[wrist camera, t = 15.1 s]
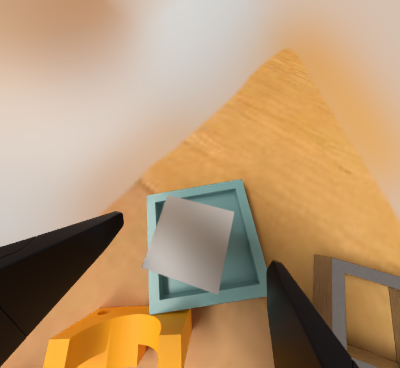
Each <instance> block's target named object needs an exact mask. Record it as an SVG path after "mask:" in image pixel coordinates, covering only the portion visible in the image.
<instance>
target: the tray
mask: <svg viewBox="0 0 400 368" xmlns="http://www.w3.org/2000/svg"><path fill="white" fill-rule="evenodd" d="M168 195H170V196H174V197H178V198H182V199H186V200H190V201H194V202H198V203H202V204H205V205H209V206H213V207H217V208H221V209H225V210H229V211H233V212H234V217H233V222H232V227H231V232H230V237H229V242H228V247H227V252H226V257H225V262H224V267H223V272H222V277H221V283H220V288H219V293H218V295H217V294H214V293H211V292H208V291H206V290H203V289H200V288H197V287H194V286H192V285H189V284H186V283H183V282H180V281H178V280H175V279H172V278H169V277H166V276H164V275H161V274H158V273H155V272H152V271H150V270H148V271H149V312H150V315H152V314H158V313H165V312H171V311H177V310H184V309H190V308H197V307H203V306H209V305H216V304H222V303H228V302H235V301H241V300H247V299H254V298H260V297H266V296H267V281H266V272H267V267H266V264H265V260H264V257H263V253H262V250H261V246H260V242H259V239H258V235H257V232H256V228H255V225H254V221H253V218H252V214H251V210H250V207H249V203H248V200H247V196H246V193H245V189H244V186H243V182H242V179H240V180H234V181H228V182H222V183H217V184H211V185H205V186H199V187H194V188H188V189H182V190H176V191H171V192H165V193H159V194H153V195H148V196H147V230H148V249H149V246H150V243H151V240H152V237H153V235H154V232H155V229H156V226H157V224H158V221H159V218H160V215H161V212H162V210H163V207H164V204H165V201H166V199H167V196H168Z"/></svg>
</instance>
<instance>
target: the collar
mask: <svg viewBox="0 0 400 368" xmlns="http://www.w3.org/2000/svg"><path fill="white" fill-rule="evenodd" d="M344 274H347V275H351V276H354V277H357V278H361V279H364V280H367V281H371V282H374V283H377V284H381V285H384V286H387V287H389V294H390V302H391V311H392V319H393V328H394V337H395V345H396V354H397V362H398V363H397V362H394V361H392V360H389V359H386V358H383V357H381V356H378V355H375V354H373V353H370V352H367V351H365V350H362V349H359V348H357V347H354V346H351V345H348V344H347V341H346V310H345V279H344ZM313 306H314V307H315V308H316V310H317V311H318V312H319V314H320V315H321V317H322V318H323V319H324V321H325V322H326V323H327V325H328V326H329V327H330V329H331V330H332V331H333V333H334V334H335V335H336V337H337V338H338V339H339V341H340V342H341V344H342V345H343V346H344V348H345V349H346V350H347V352H348V353H349V354H350V356H351V357H352V360H354V361H355V362H356V364H357V365H358V366H359V368H400V277H398V276H394V275H391V274H387V273H384V272H380V271H377V270H373V269H370V268H366V267H363V266H360V265H356V264H353V263H349V262H346V261H342V260H339V259H335V258H332V257H326V256H319V255H314V284H313Z"/></svg>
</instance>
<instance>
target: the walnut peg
mask: <svg viewBox="0 0 400 368" xmlns="http://www.w3.org/2000/svg"><path fill="white" fill-rule="evenodd" d="M233 217H234V212H233V211H229V210H225V209H221V208H217V207H213V206H209V205H205V204H202V203H198V202H194V201H190V200H186V199H182V198H178V197H174V196H170V195H168V196H167V199H166V201H165V204H164V207H163V210H162V212H161V215H160V218H159V221H158V224H157V226H156V229H155V232H154V235H153V237H152V240H151V243H150V246H149V249H148V251H147V254H146V257H145V260H144V262H143V265H142V268H144V269H147V270H150V271H152V272H155V273H158V274H161V275H164V276H166V277H169V278H172V279H175V280H178V281H180V282H183V283H186V284H189V285H192V286H194V287H197V288H200V289H203V290H206V291H208V292H211V293H214V294H217V295H218V293H219V288H220V283H221V277H222V272H223V267H224V262H225V257H226V252H227V247H228V242H229V237H230V232H231V227H232V222H233Z"/></svg>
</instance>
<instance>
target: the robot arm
mask: <svg viewBox="0 0 400 368" xmlns="http://www.w3.org/2000/svg"><path fill="white" fill-rule="evenodd" d="M123 224H124V220H123V214H122V213H121V212H117V211H115V212H111V213H108V214H105V215H102V216H99V217H96V218H92V219H89V220H86V221H83V222H80V223H76V224H73V225H70V226H67V227H64V228H61V229H57V230H54V231H51V232H48V233H45V234H42V235H38V236H37V237H36V236H35V237H32V238H29V239H26V240H22V241H19V242H16V243H12V244H9V245H6V246H2V247H0V367H1V366H2V364H3V363H4V362H5V361H6V360H7V359H8V358H9V357H10V355H11V354H12V353H13V352H14V351H15V350H16V349H17V348H18V347H19V345H20V344H21V343H22V342H23V341H24V340H25V339H26V337H27V336H28V335H29V334H30V333H31V332H32V331H33V330H34V329H35V327H36V326H37V325H38V324H39V323H40V322H41V321H42V320H43V318H44V317H45V316H46V315H47V314H48V313H49V312H50V311H51V310H52V308H53V307H54V306H55V305H56V304H57V303H58V302H59V301H60V299H61V298H62V297H63V296H64V295H65V294H66V293H67V292H68V291H69V289H70V288H71V287H72V286H73V285H74V284H75V283H76V282H77V281H78V279H79V278H80V277H81V276H82V275H83V274H84V273H85V272H86V270H87V269H88V268H89V267H90V266H91V265H92V264H93V263H94V262H95V260H96V259H97V258H98V257H99V256H100V255H101V254H102V253H103V251H104V250H105V249H106V248H107V247H108V245H109V244H110V243H111V241H112V240H113V239H114V237H115V236H116V235H117V233H118V232H119V231H120V229H121V228H122V227H123ZM266 281H267V309H268V318H269V326H270V334H271V342H272V350H273V358H274V366H275V368H359V366H358V365H357V364H356V362H355V361H354V360H352V357H351V356H350V354H349V353H348V352H347V350H346V349H345V348H344V346H343V345H342V344H341V342H340V341H339V339H338V338H337V337H336V335H335V334H334V333H333V331H332V330H331V329H330V327H329V326H328V325H327V323H326V322H325V321H324V319H323V318H322V317H321V315H320V314H319V312H318V311H317V310H316V308H315V307H314V306H313V304H312V303H311V302H310V300H309V299H308V298H307V296H306V295H305V294H304V292H303V291H302V290H301V288H300V287H299V285H298V284H297V283H296V281H295V280H294V279H293V277H292V276H291V275H290V273H289V272H288V271H287V269H286V268H285V267H284V265H283V264H282V263H281V262H278V261H275V260H273V261H272V262H271V264H270V265H269V267H268V269H267V272H266Z"/></svg>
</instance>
